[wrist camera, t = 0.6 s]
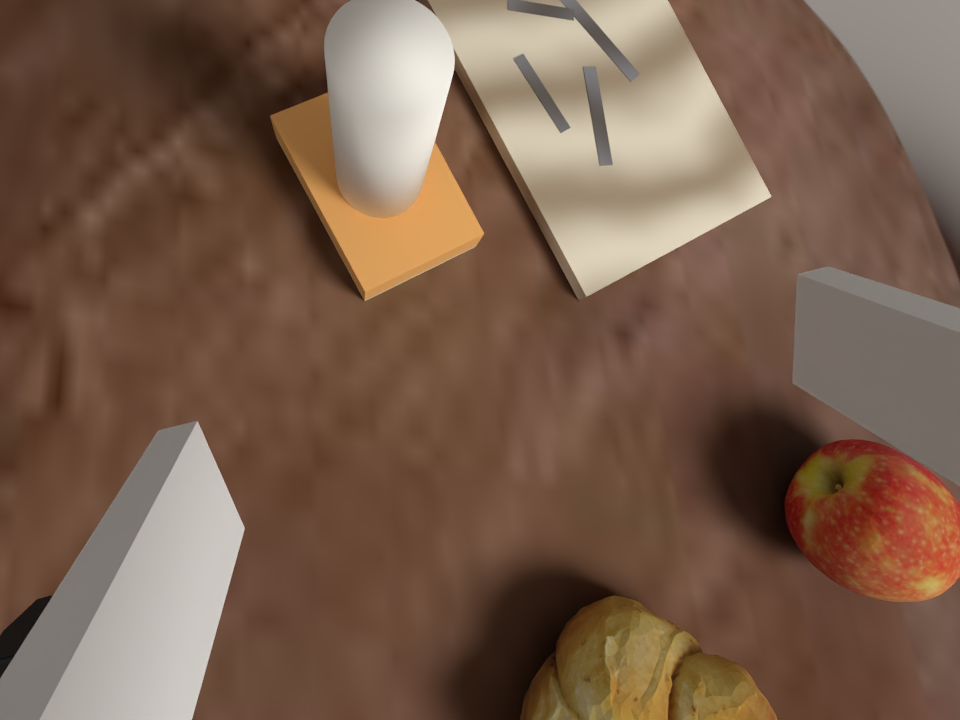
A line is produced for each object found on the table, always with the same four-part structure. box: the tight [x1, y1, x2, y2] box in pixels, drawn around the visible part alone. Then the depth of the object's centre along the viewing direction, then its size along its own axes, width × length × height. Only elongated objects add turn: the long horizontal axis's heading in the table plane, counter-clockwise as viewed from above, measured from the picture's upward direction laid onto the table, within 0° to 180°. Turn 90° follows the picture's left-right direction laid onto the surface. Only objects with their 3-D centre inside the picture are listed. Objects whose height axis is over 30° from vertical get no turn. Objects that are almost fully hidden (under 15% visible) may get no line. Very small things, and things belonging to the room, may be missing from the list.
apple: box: [785, 439, 960, 602], centre depth 32 cm, size 8×8×8 cm
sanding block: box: [270, 0, 484, 301], centre depth 26 cm, size 10×7×13 cm
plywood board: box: [418, 0, 771, 300], centre depth 35 cm, size 23×14×1 cm, turn 29°
